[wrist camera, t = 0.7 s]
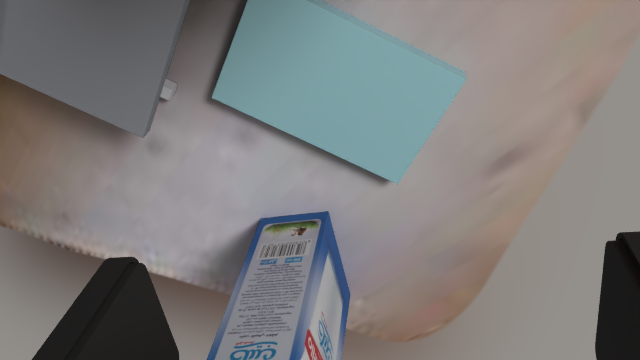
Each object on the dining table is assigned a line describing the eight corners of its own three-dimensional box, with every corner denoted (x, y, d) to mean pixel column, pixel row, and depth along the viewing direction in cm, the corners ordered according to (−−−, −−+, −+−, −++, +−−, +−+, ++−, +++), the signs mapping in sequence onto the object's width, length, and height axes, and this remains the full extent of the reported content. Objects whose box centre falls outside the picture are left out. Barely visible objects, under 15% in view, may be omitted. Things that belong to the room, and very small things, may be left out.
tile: (263, -31, 40) (256, -25, 38) (464, 68, 42) (466, 79, 40) (219, 87, 45) (211, 97, 43) (398, 171, 47) (397, 184, 45)
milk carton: (350, 295, 54) (321, 507, 38) (288, 299, 56) (234, 505, 39) (328, 210, 49) (283, 411, 33) (260, 217, 51) (185, 413, 34)
